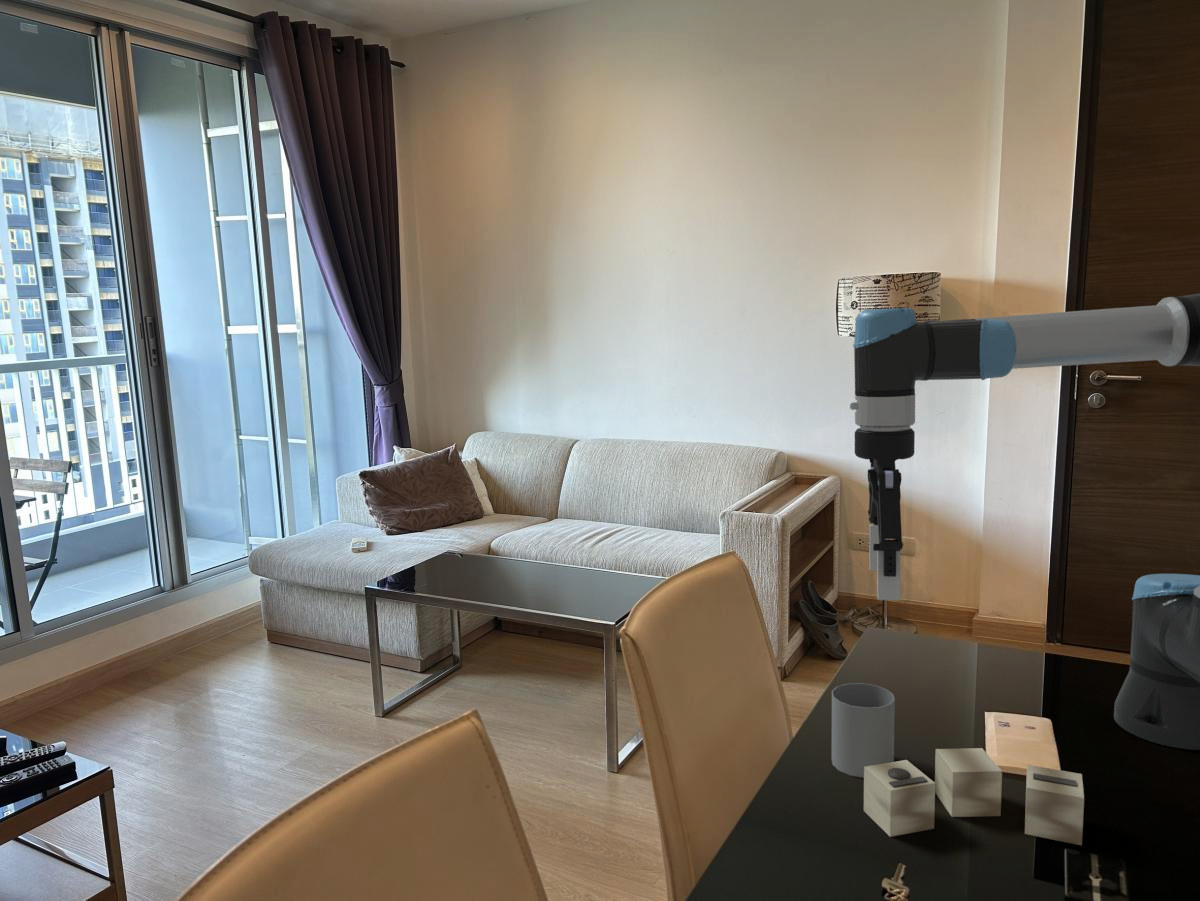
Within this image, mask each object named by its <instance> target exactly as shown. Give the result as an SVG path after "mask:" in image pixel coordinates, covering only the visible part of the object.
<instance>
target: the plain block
mask: <svg viewBox="0 0 1200 901" xmlns="http://www.w3.org/2000/svg"><path fill="white" fill-rule="evenodd" d="M934 759H935V761H934V762H935V763H934V766H935V767H934V771H935V772H934V782H935V795H937V797H938V799H939V800H940V801H941V804H942V805H943V806H944V808H945V809H946V811H947V812H948V813H949V815H950V816H951V817H952V818H956V817H957V818H963V817H964V818H966V817H972V818H973V817H1001V810H1002V787H1003V786H1002V784H1003V783H1002V780H1003V770H1002V769H1001V768H1000V767H999V765H998V764H997V763H995V761H994V760H993V759H992V757H990V756H989V754H988V753H987V752H986V751H985V750H984V749H983V748H982V747H978V748H977V747H974V748H973V747H972V748H967V747H966V748H935V758H934Z"/></svg>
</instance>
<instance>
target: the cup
mask: <svg viewBox="0 0 1200 901" xmlns="http://www.w3.org/2000/svg"><path fill="white" fill-rule="evenodd" d="M895 704H896V699H895V695H894V694H893V693H892V692H891V691H890V690H888V689H887V688H884V687H882V686H878V685H876V684H871V683H870V684H868V683H861V682H857V683H854V682H853V683H845V684H844V683H843V684H841V685H838V686H836V687H834V688H833V689H832V690H831V764H832V766H834V767H835V769H837V770H838V771H839V772H842V773H843V774H846V775H848V776H851V777H856V778H857V777H858V778H862V779H864V767H866V766H872V765H878V764H884V763H890V762H895V719H896V718H895V715H896V714H895V712H896V711H895V710H896V707H895Z"/></svg>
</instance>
